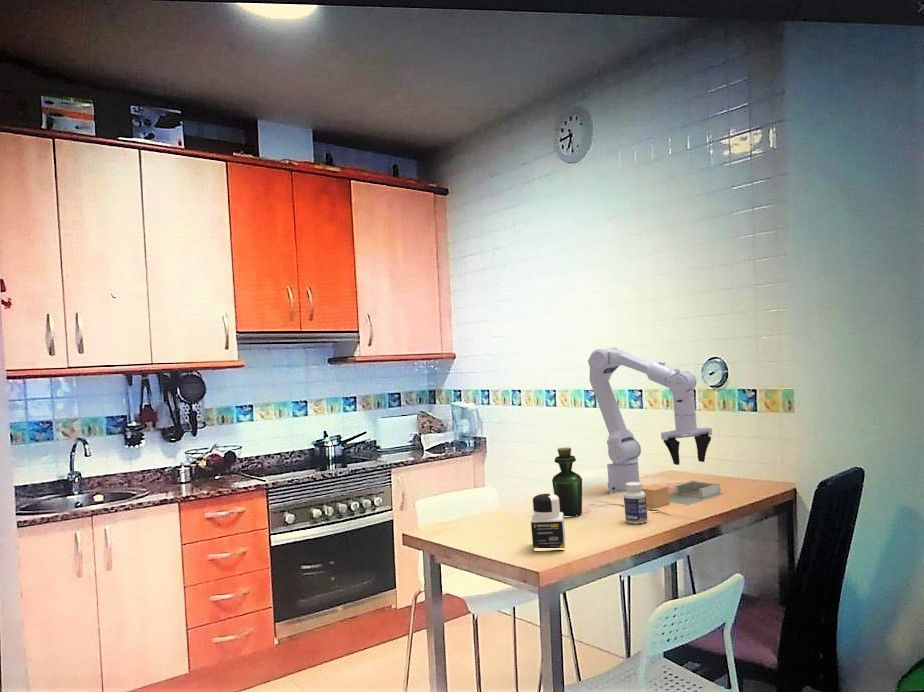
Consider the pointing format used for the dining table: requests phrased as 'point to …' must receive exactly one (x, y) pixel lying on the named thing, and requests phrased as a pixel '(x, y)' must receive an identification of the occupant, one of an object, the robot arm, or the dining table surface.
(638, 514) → the pill bottle
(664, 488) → the chute block
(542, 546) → the medicine bottle
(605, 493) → the dining table surface
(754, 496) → the dining table surface
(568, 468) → the potion bottle
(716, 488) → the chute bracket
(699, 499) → the deck plate
